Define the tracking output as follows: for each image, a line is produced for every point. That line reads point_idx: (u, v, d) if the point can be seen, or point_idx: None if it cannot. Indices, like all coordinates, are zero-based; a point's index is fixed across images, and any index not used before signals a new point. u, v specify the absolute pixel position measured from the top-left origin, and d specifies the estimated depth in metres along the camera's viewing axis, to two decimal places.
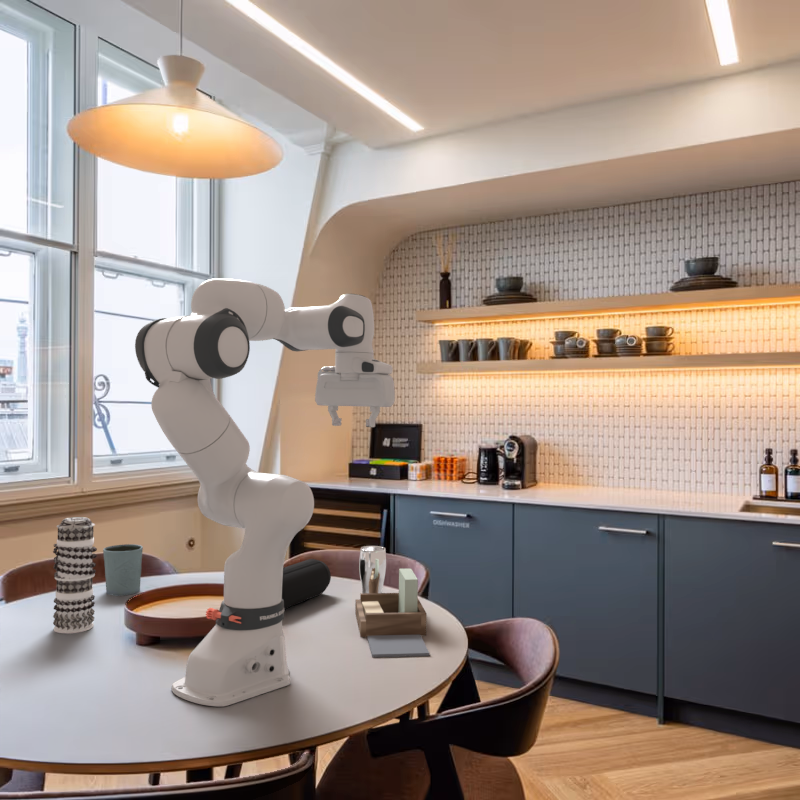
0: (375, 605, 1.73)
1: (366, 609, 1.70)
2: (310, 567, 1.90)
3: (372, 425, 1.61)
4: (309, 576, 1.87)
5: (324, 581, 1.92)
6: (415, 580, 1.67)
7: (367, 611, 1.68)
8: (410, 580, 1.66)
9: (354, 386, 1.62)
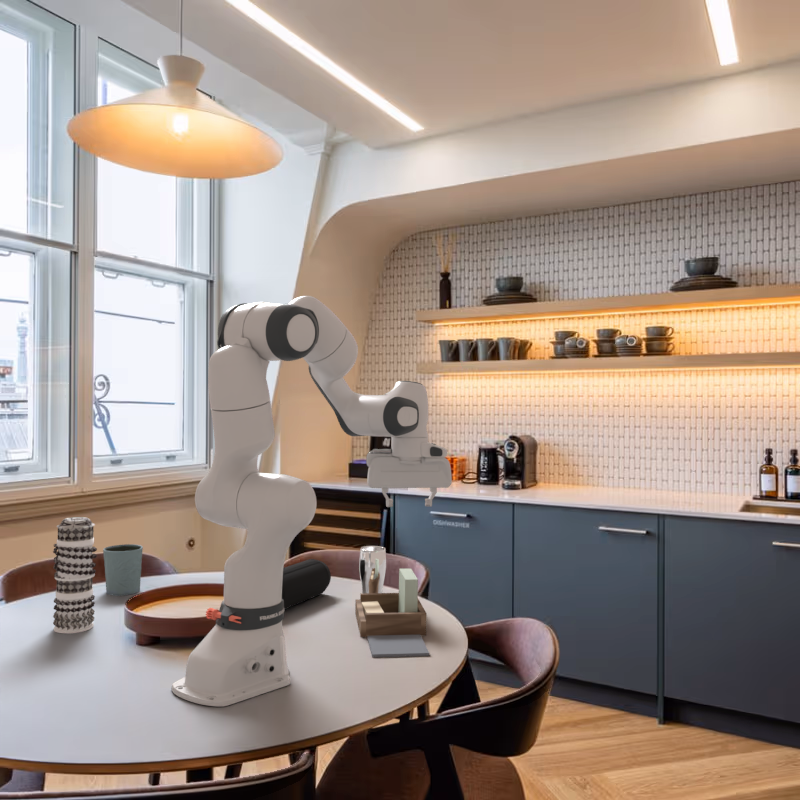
0: (375, 606, 1.73)
1: (366, 609, 1.70)
2: (310, 567, 1.90)
3: None
4: (309, 576, 1.87)
5: (325, 581, 1.92)
6: (415, 580, 1.67)
7: (367, 611, 1.68)
8: (410, 580, 1.66)
9: (415, 469, 1.70)
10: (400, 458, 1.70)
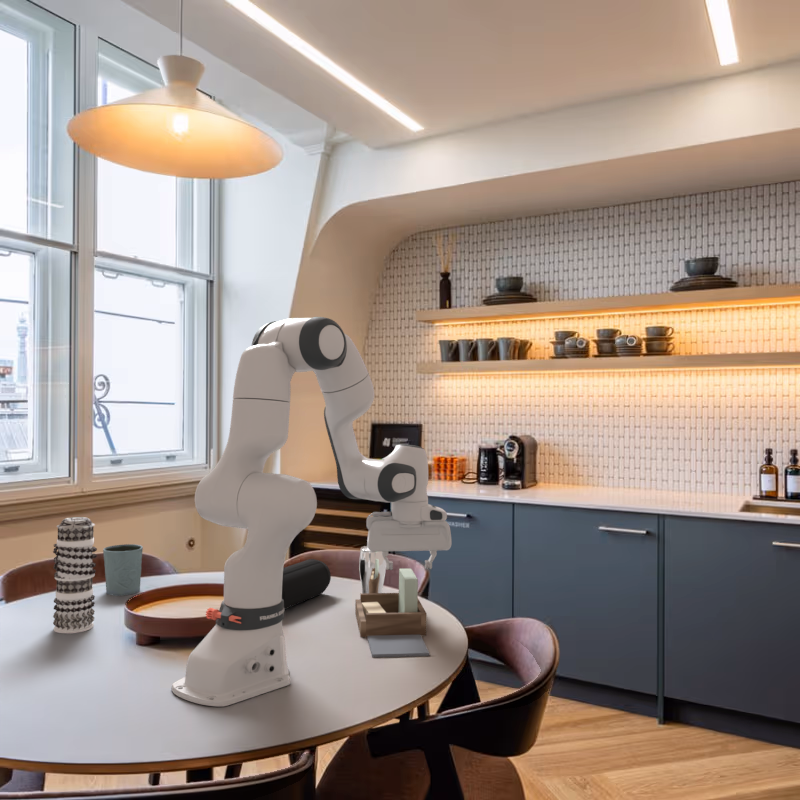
0: (376, 606, 1.73)
1: (368, 610, 1.69)
2: (310, 567, 1.90)
3: None
4: (309, 576, 1.87)
5: (325, 581, 1.92)
6: (415, 580, 1.67)
7: (370, 612, 1.68)
8: (410, 580, 1.66)
9: (415, 532, 1.71)
10: (400, 521, 1.70)
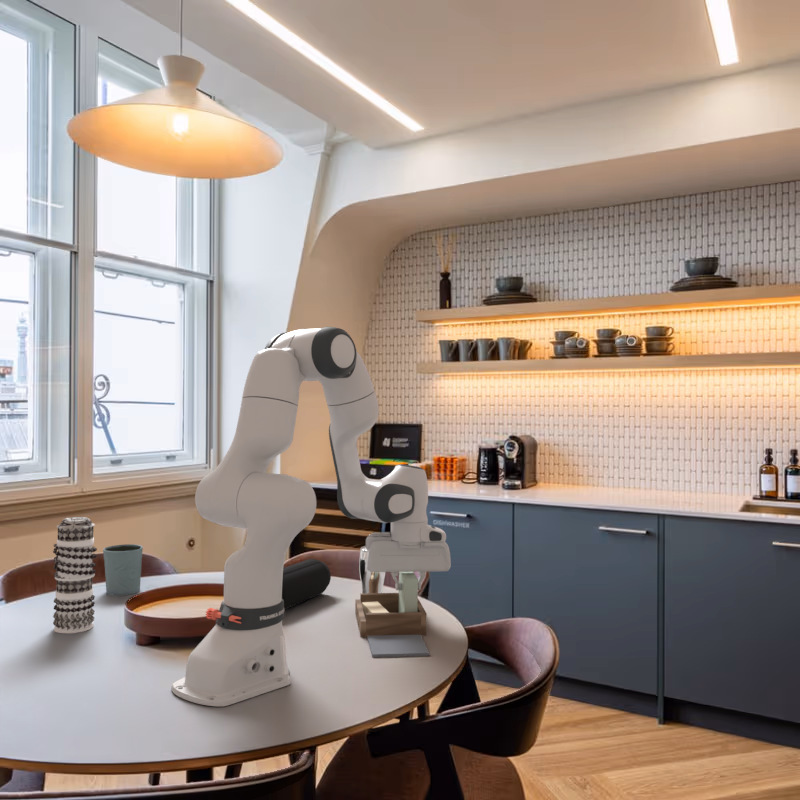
0: (377, 606, 1.73)
1: (370, 609, 1.69)
2: (310, 567, 1.90)
3: None
4: (309, 576, 1.87)
5: (325, 581, 1.92)
6: (415, 580, 1.67)
7: (372, 611, 1.68)
8: (410, 580, 1.66)
9: (415, 553, 1.71)
10: (399, 542, 1.70)
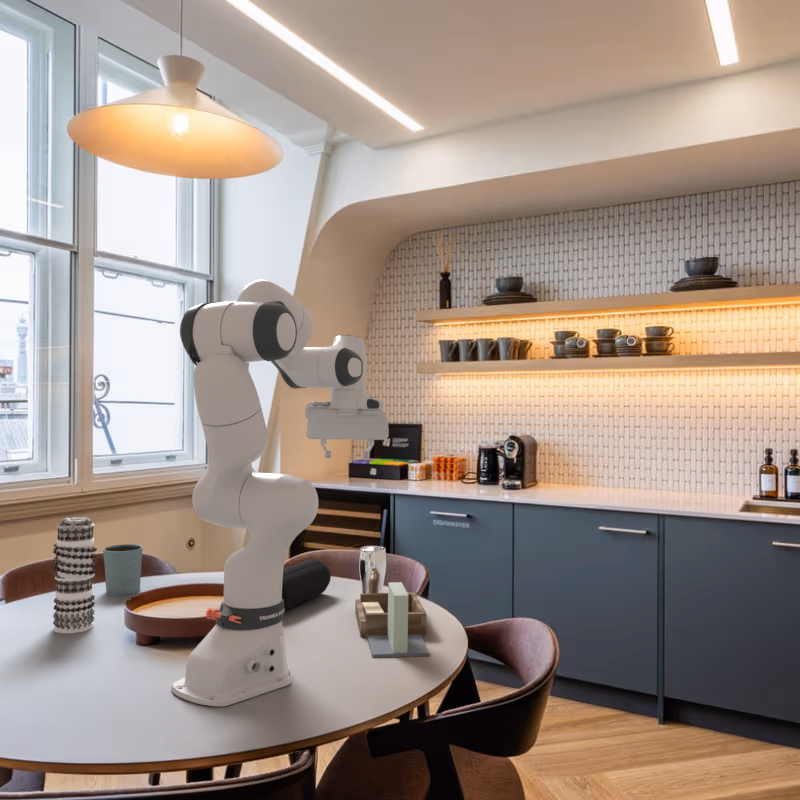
0: (375, 606, 1.72)
1: (367, 610, 1.69)
2: (311, 567, 1.89)
3: None
4: (310, 576, 1.87)
5: (325, 581, 1.92)
6: (405, 596, 1.50)
7: (368, 612, 1.68)
8: (400, 596, 1.50)
9: (353, 421, 1.75)
10: (338, 410, 1.74)
